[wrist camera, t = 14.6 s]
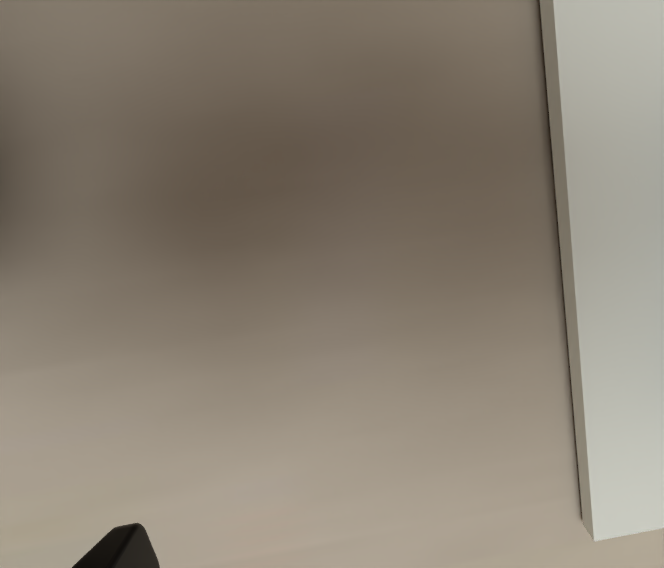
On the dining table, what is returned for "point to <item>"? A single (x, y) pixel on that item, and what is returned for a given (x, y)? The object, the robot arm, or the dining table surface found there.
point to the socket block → (612, 248)
